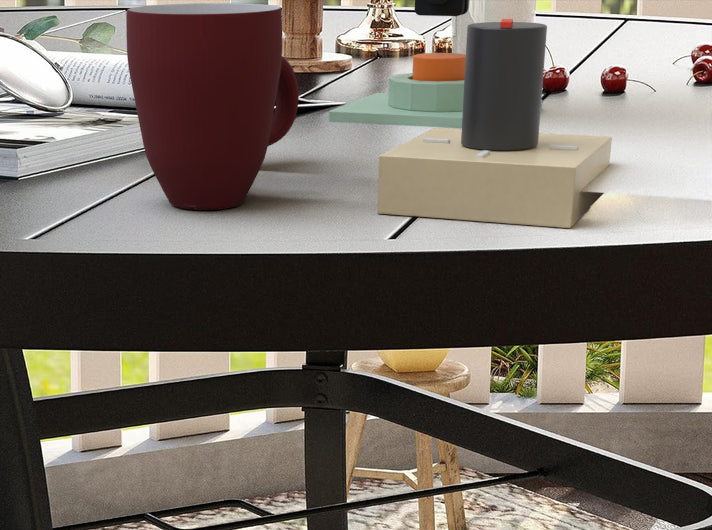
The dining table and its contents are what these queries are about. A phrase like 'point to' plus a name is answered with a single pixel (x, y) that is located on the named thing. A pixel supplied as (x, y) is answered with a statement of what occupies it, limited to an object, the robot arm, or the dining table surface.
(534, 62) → the dial
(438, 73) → the button
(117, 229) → the dining table surface
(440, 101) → the kettle base
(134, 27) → the mug
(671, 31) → the dining table surface
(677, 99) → the dining table surface
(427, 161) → the block
